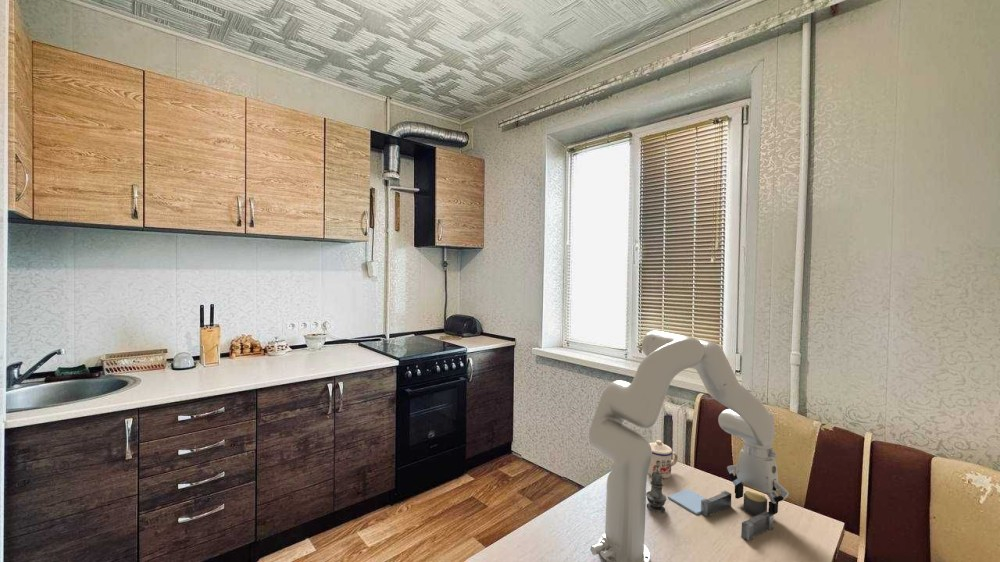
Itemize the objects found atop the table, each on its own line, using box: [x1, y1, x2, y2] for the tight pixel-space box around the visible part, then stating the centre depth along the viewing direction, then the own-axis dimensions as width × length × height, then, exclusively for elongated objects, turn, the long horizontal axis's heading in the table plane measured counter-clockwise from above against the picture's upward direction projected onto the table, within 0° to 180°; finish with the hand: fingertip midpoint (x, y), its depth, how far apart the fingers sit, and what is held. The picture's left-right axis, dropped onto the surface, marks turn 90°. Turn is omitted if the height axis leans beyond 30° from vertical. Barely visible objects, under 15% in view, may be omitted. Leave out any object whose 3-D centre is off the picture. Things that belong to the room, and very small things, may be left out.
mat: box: [667, 488, 707, 516], centre depth 125 cm, size 10×10×1 cm
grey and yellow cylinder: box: [743, 490, 768, 517], centre depth 121 cm, size 6×6×5 cm
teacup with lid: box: [648, 439, 679, 479], centre depth 143 cm, size 12×9×12 cm
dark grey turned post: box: [646, 469, 668, 514], centre depth 121 cm, size 6×6×12 cm
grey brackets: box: [700, 490, 774, 542], centre depth 116 cm, size 12×14×4 cm
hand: (755, 505), depth 120 cm, fingers open, 9 cm apart
